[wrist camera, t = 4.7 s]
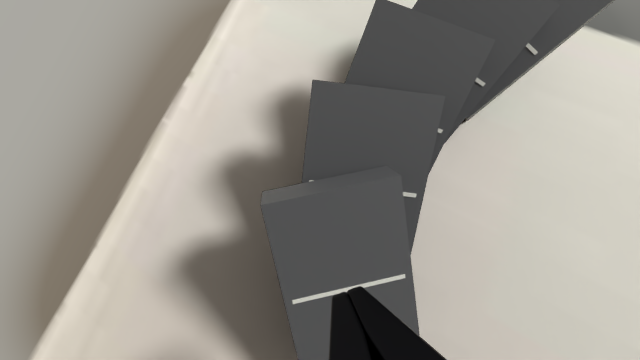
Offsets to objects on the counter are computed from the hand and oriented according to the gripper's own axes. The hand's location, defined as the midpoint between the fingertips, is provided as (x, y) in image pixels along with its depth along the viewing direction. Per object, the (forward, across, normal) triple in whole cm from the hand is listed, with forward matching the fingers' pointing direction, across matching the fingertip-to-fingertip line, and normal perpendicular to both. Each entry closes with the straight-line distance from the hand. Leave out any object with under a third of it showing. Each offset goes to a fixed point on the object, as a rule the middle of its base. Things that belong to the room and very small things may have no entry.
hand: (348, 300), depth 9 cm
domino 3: (+2, 0, +7) cm, 7 cm away
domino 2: (+5, -1, +4) cm, 7 cm away
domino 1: (+7, -3, +2) cm, 8 cm away
